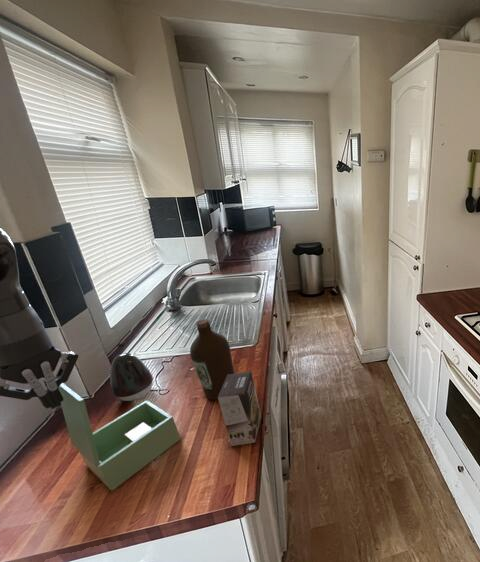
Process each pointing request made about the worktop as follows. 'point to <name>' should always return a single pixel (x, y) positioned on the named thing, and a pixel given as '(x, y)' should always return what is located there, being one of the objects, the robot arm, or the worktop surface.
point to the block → (137, 432)
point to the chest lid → (78, 424)
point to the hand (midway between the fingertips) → (55, 405)
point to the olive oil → (211, 359)
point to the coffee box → (240, 408)
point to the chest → (131, 457)
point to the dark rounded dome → (130, 377)
